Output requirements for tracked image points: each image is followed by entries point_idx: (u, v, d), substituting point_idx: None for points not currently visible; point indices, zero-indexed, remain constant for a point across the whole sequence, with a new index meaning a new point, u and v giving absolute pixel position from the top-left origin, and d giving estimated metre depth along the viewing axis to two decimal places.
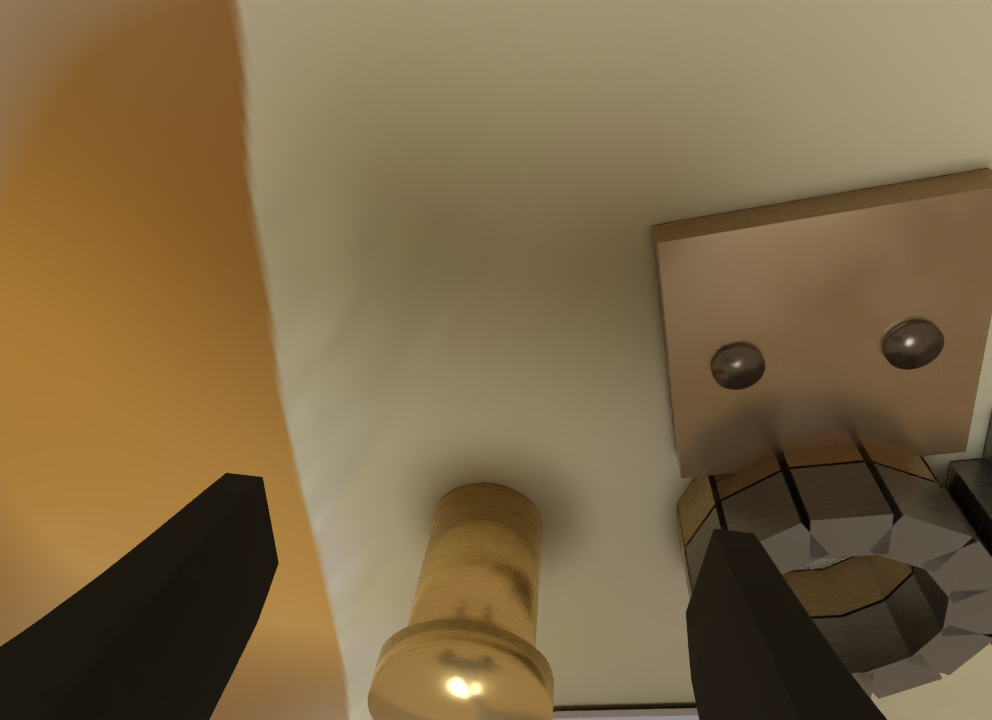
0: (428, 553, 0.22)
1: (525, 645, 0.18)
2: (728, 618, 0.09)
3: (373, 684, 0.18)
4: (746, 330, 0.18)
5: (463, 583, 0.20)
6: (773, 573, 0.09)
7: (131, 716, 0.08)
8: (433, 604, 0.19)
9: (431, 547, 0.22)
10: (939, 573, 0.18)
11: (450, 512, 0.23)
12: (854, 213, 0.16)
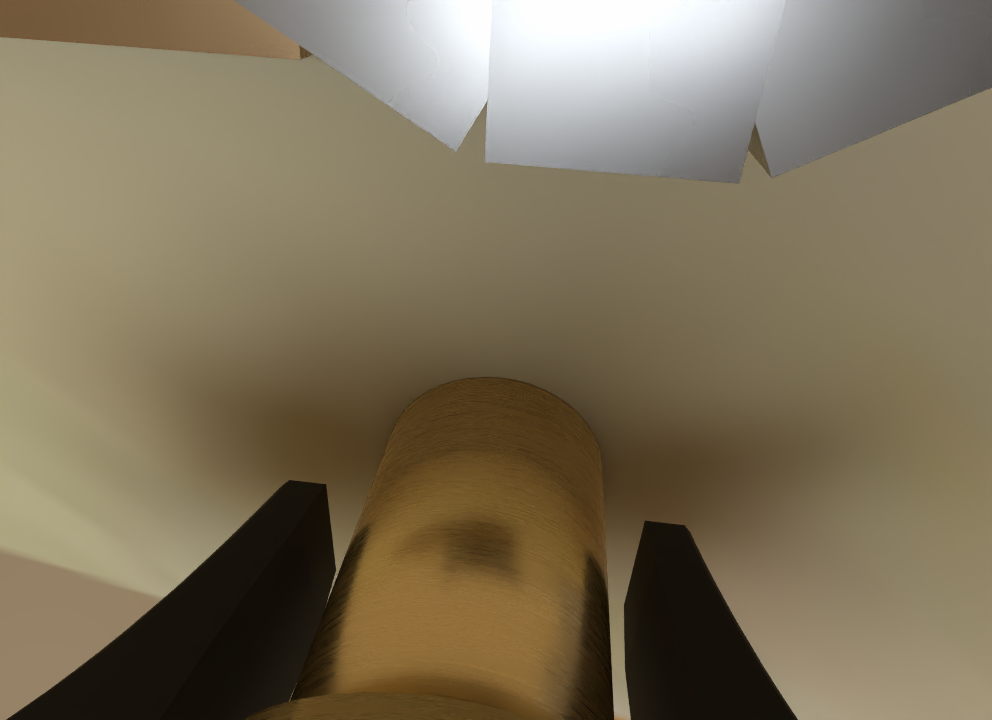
0: None
1: None
2: (652, 609, 0.09)
3: None
4: None
5: None
6: (697, 564, 0.09)
7: None
8: None
9: None
10: None
11: None
12: None
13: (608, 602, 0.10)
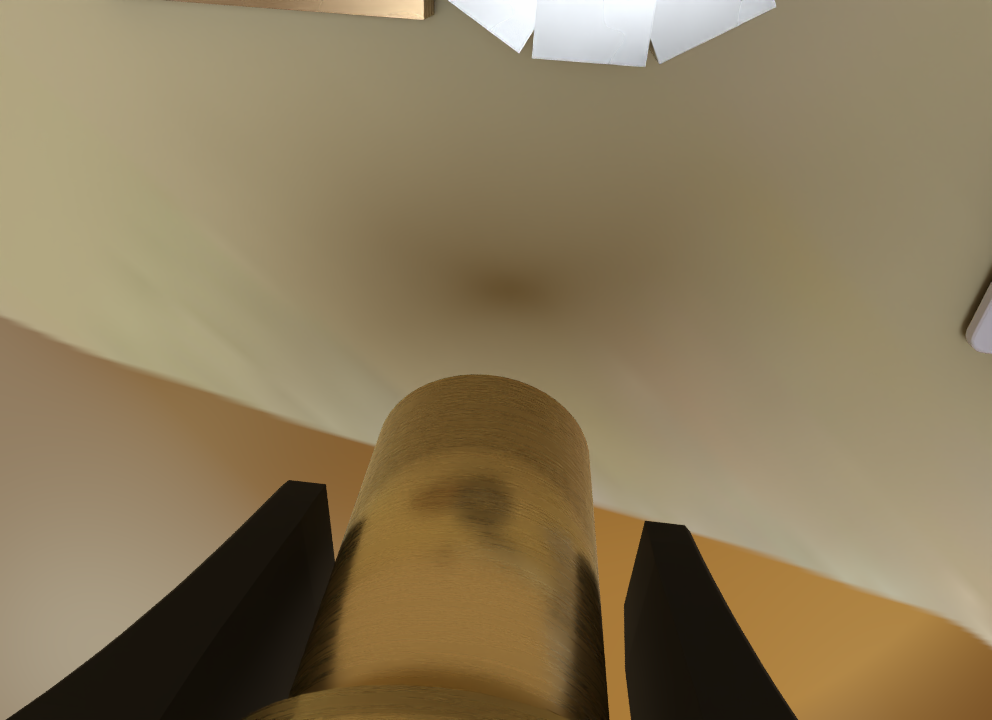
0: None
1: (275, 716, 0.06)
2: (652, 609, 0.09)
3: None
4: None
5: None
6: (697, 564, 0.09)
7: None
8: None
9: None
10: None
11: None
12: None
13: None
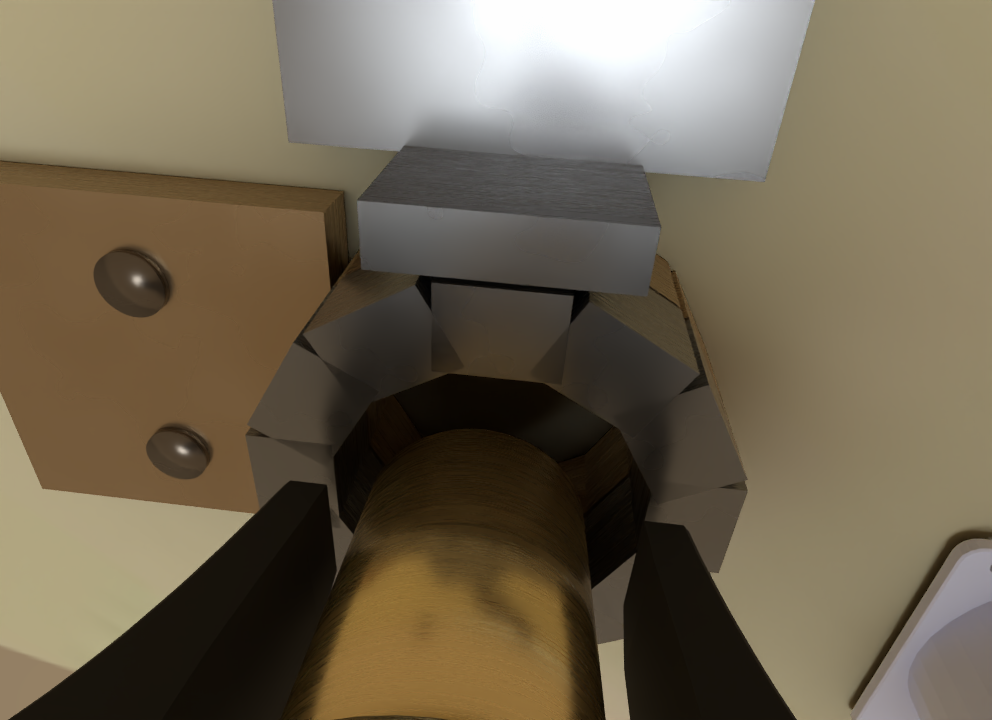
0: None
1: None
2: (651, 609, 0.09)
3: None
4: (133, 437, 0.15)
5: None
6: (696, 563, 0.09)
7: None
8: None
9: None
10: (383, 384, 0.10)
11: None
12: None
13: None
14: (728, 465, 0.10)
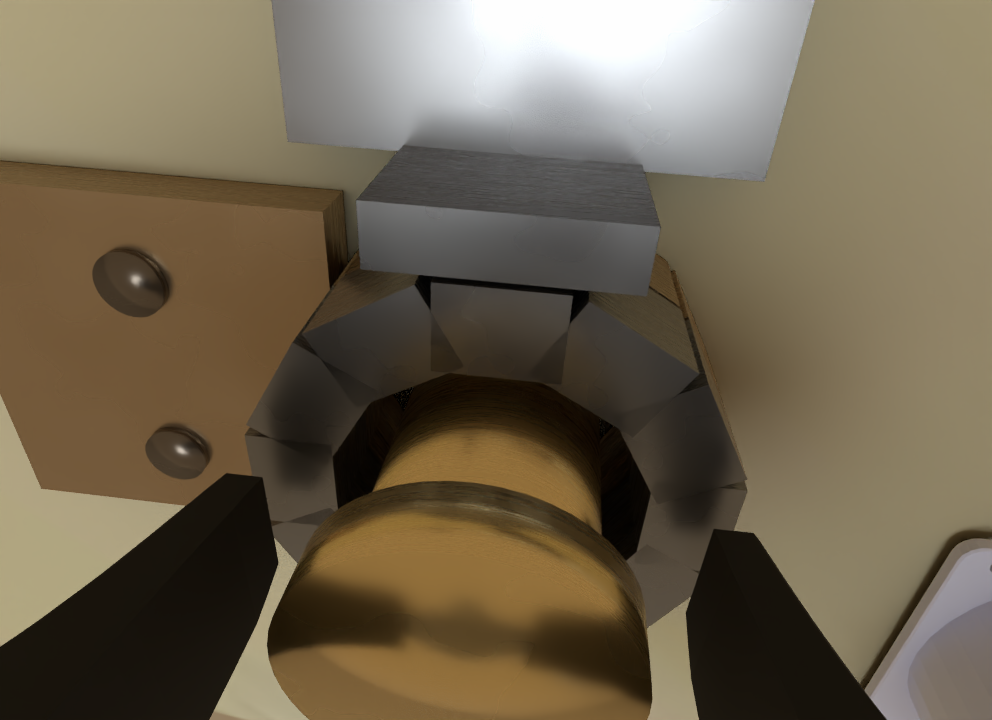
0: None
1: (340, 512, 0.09)
2: (728, 618, 0.09)
3: None
4: (132, 437, 0.15)
5: None
6: (773, 572, 0.09)
7: (131, 716, 0.08)
8: None
9: None
10: (383, 384, 0.10)
11: None
12: None
13: (599, 463, 0.12)
14: (728, 465, 0.10)
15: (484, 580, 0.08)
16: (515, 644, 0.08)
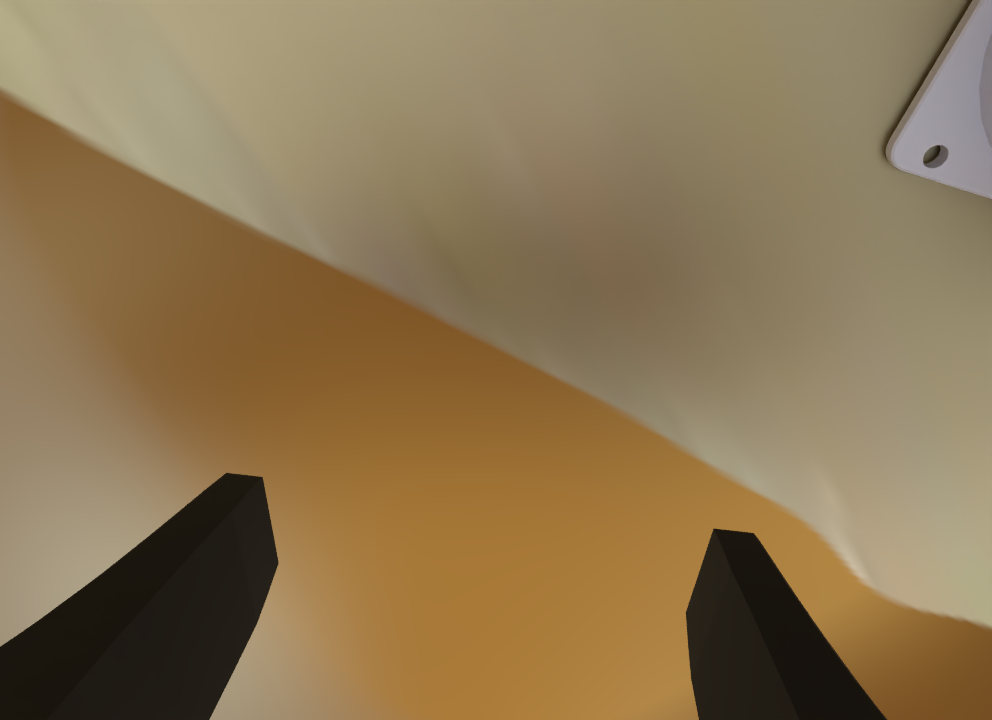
0: None
1: None
2: (728, 618, 0.09)
3: None
4: None
5: None
6: (773, 573, 0.09)
7: (131, 716, 0.08)
8: None
9: None
10: None
11: None
12: None
13: None
14: None
15: None
16: None
